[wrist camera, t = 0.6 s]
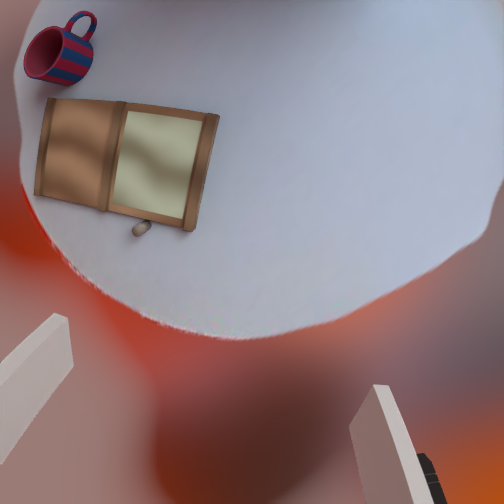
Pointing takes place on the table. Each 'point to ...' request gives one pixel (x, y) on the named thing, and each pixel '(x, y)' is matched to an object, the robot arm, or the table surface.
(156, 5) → the table surface
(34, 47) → the mug
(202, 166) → the brown divided flat frame
